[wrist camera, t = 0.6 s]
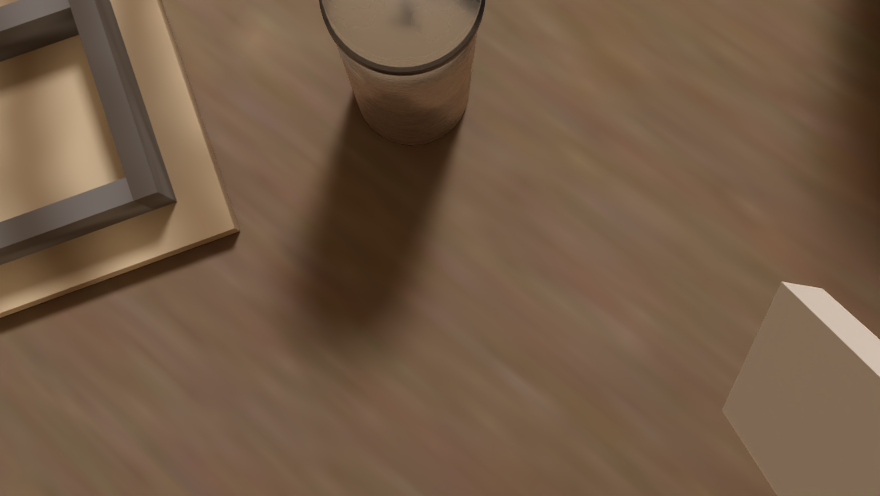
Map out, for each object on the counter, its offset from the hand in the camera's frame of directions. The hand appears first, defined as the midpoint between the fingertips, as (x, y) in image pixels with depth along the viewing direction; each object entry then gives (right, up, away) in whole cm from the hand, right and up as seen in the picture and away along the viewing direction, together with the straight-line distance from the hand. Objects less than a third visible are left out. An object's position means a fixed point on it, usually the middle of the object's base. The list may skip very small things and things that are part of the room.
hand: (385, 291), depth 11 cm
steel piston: (-1, +9, +26) cm, 28 cm away
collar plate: (-20, +6, +26) cm, 33 cm away
